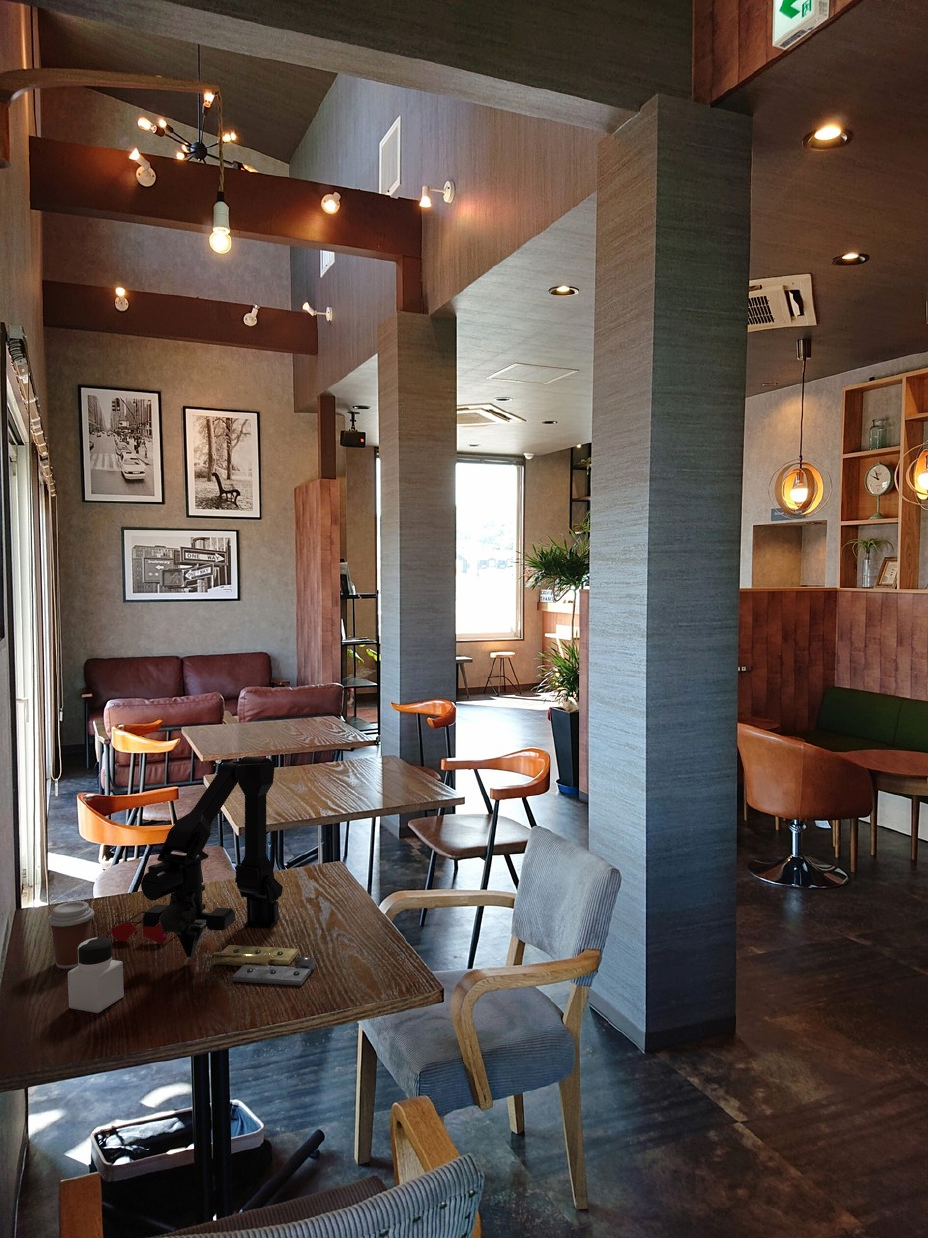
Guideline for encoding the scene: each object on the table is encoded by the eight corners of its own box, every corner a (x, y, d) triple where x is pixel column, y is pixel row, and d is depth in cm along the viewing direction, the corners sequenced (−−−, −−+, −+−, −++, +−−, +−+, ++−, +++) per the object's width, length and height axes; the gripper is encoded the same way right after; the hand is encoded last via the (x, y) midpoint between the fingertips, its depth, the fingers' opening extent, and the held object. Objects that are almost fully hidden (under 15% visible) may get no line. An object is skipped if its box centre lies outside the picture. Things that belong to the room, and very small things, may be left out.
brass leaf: (211, 966, 181) (211, 955, 181) (229, 949, 189) (228, 938, 189) (283, 970, 178) (283, 959, 178) (298, 953, 186) (298, 942, 186)
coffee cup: (86, 949, 191) (84, 896, 190) (102, 961, 184) (100, 906, 184) (42, 962, 185) (40, 907, 184) (58, 975, 178) (56, 918, 178)
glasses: (109, 943, 195) (108, 922, 195) (149, 916, 211) (148, 896, 211) (165, 947, 192) (164, 925, 192) (201, 919, 208) (200, 899, 208)
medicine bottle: (124, 996, 168) (122, 936, 168) (98, 1014, 161) (96, 951, 161) (95, 991, 171) (93, 932, 170) (68, 1008, 164) (65, 946, 163)
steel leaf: (232, 981, 174) (232, 969, 174) (249, 963, 182) (249, 952, 182) (300, 985, 171) (300, 974, 171) (315, 967, 180) (315, 956, 179)
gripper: (126, 896, 176) (128, 971, 177) (211, 900, 173) (213, 976, 174) (154, 877, 187) (157, 948, 188) (235, 881, 184) (237, 953, 184)
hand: (190, 957), depth 183 cm, fingers closed
